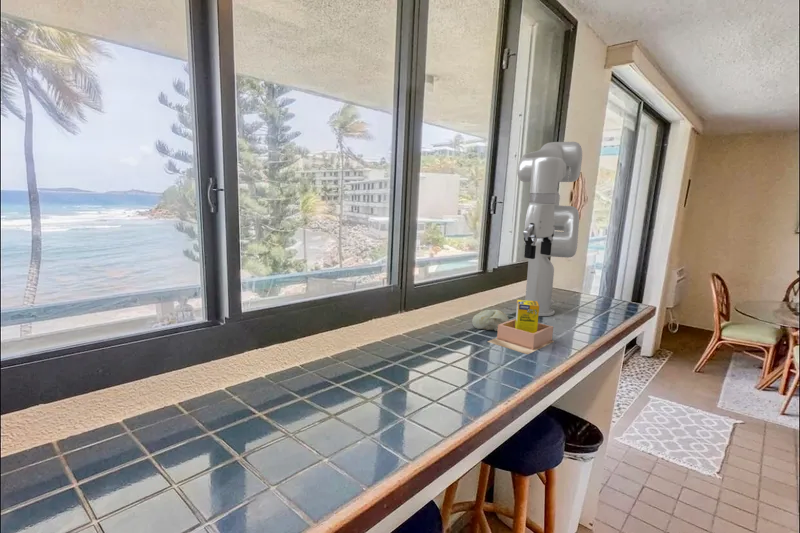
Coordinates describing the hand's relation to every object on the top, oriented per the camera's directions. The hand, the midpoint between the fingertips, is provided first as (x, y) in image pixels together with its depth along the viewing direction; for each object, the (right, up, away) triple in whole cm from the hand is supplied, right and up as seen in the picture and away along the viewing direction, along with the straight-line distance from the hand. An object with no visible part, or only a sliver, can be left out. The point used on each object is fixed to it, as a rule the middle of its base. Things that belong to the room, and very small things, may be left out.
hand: (537, 256), depth 124 cm
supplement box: (-5, -25, -2) cm, 25 cm away
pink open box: (-5, -25, -3) cm, 26 cm away
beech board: (-6, -27, -4) cm, 27 cm away
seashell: (-12, -25, +8) cm, 29 cm away
